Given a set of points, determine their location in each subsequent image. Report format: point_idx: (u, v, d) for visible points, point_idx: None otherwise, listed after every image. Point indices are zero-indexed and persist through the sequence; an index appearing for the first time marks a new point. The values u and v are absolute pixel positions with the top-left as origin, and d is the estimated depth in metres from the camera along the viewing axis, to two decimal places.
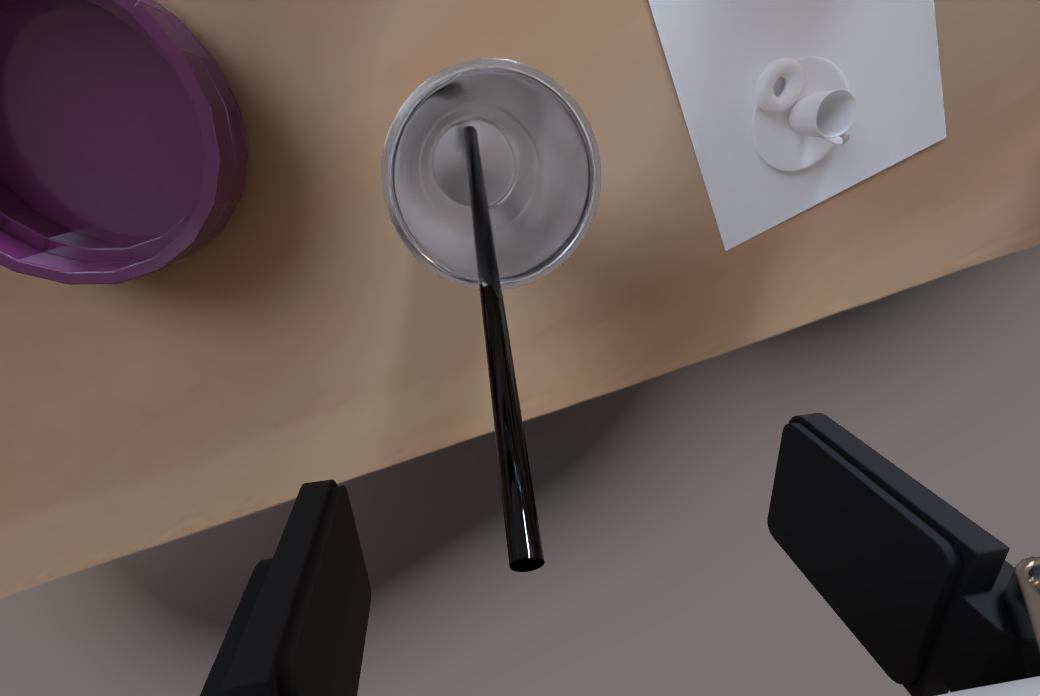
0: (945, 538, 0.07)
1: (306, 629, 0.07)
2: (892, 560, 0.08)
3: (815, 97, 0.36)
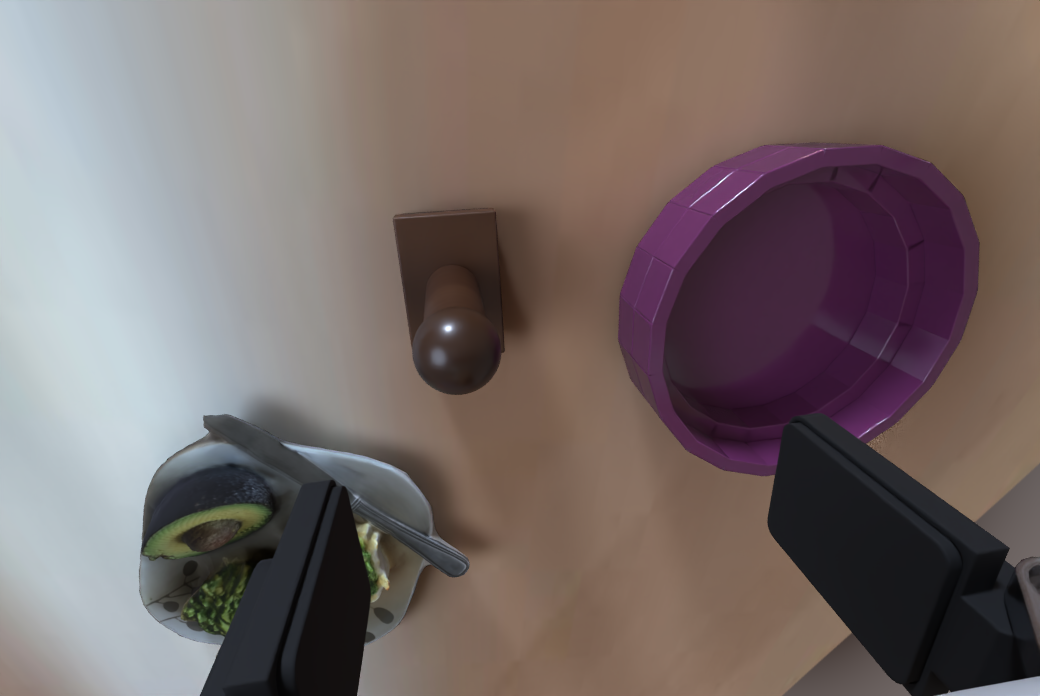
0: (944, 538, 0.07)
1: (306, 629, 0.07)
2: (892, 560, 0.08)
3: None
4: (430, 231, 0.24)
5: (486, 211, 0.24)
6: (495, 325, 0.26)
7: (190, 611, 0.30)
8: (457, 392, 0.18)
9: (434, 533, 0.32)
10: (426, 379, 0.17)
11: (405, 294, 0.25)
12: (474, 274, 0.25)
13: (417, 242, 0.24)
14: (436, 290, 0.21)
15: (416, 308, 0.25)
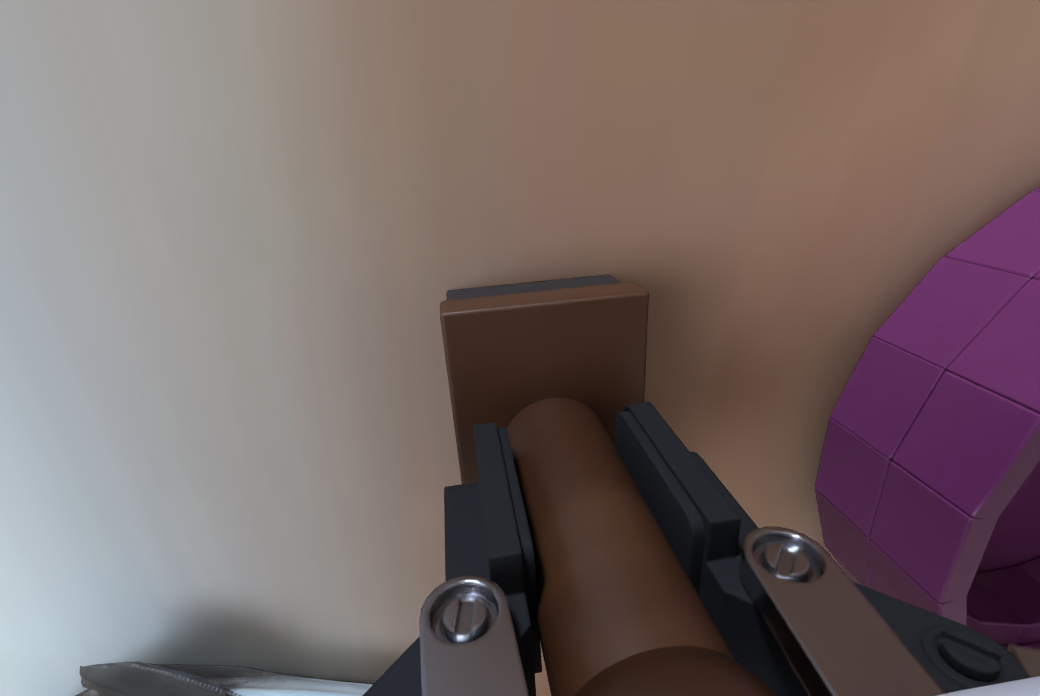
0: (696, 511, 0.08)
1: None
2: (669, 533, 0.09)
3: None
4: (516, 337, 0.11)
5: (630, 293, 0.12)
6: None
7: None
8: None
9: None
10: None
11: (461, 454, 0.12)
12: (597, 412, 0.13)
13: (489, 359, 0.12)
14: (556, 503, 0.09)
15: None
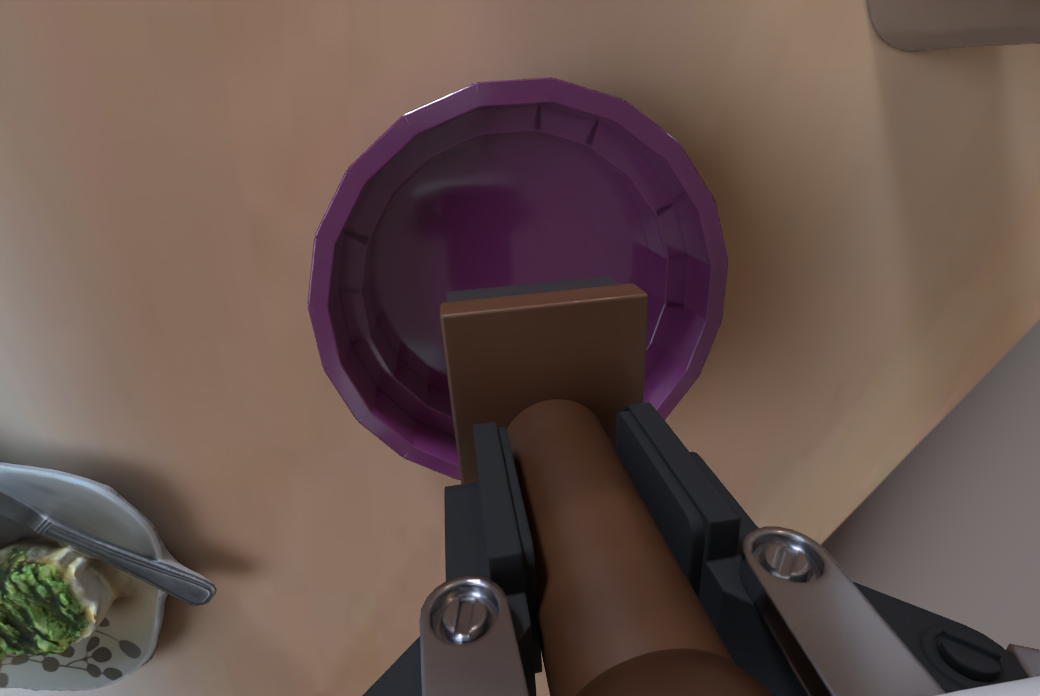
0: (695, 510, 0.08)
1: None
2: (669, 533, 0.09)
3: None
4: (516, 338, 0.11)
5: (630, 295, 0.12)
6: None
7: None
8: None
9: (165, 556, 0.28)
10: None
11: (461, 455, 0.12)
12: (596, 413, 0.13)
13: (488, 360, 0.12)
14: (555, 505, 0.09)
15: None
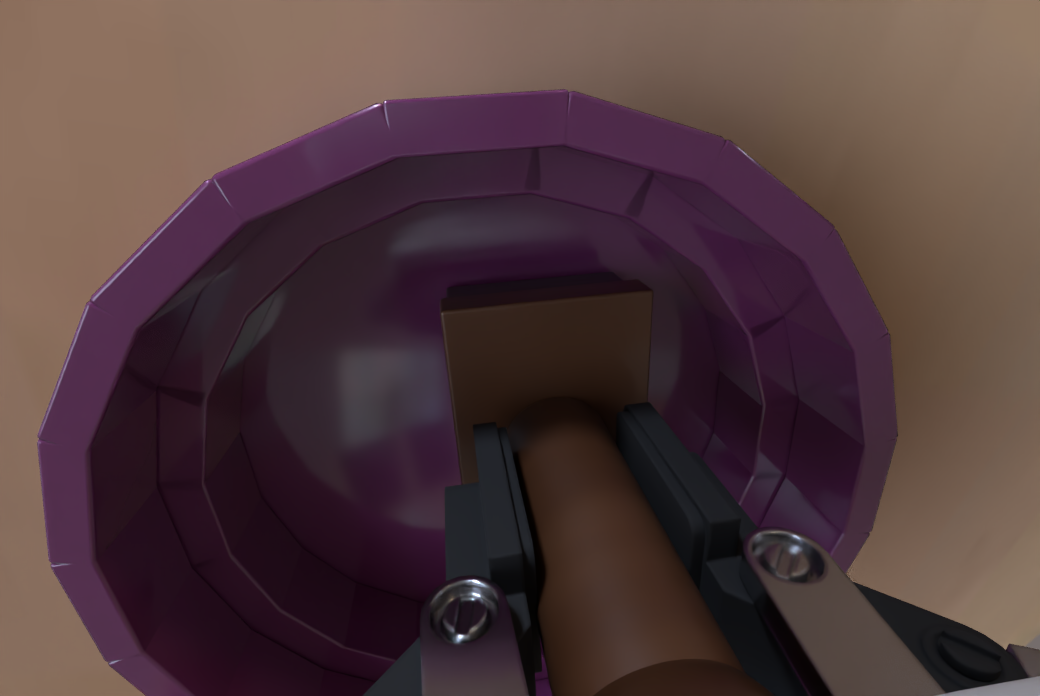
0: (695, 510, 0.08)
1: None
2: (669, 533, 0.09)
3: None
4: (518, 335, 0.11)
5: (635, 291, 0.11)
6: None
7: None
8: None
9: None
10: None
11: (461, 454, 0.12)
12: (599, 412, 0.12)
13: (490, 357, 0.11)
14: (559, 507, 0.09)
15: None
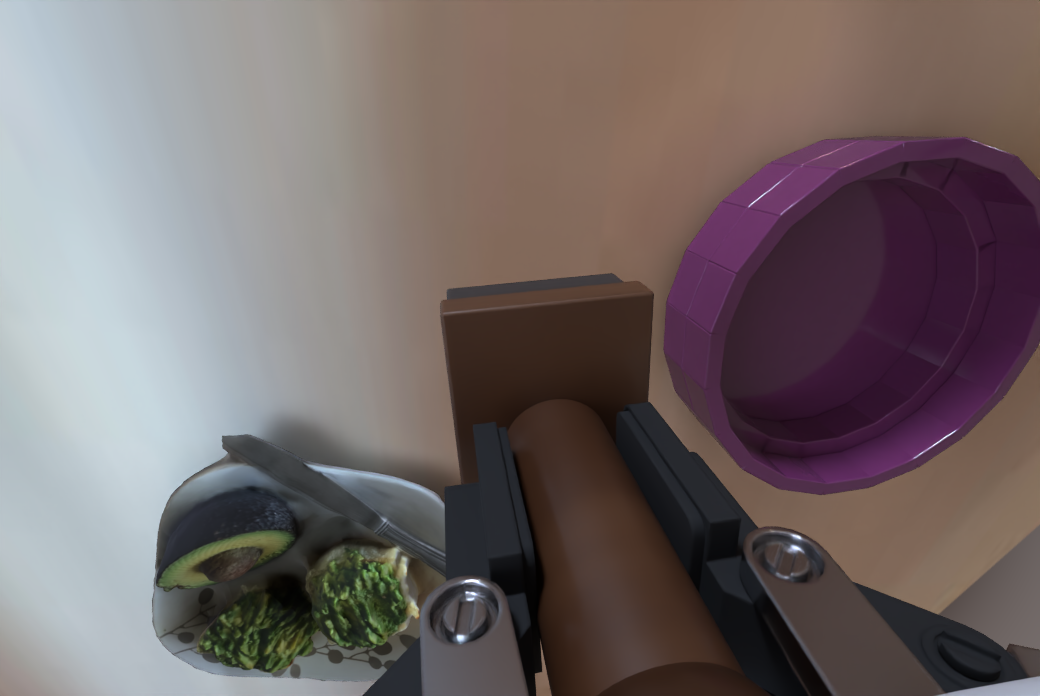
0: (696, 511, 0.08)
1: None
2: (669, 533, 0.09)
3: None
4: (518, 337, 0.11)
5: (635, 293, 0.11)
6: None
7: (207, 643, 0.28)
8: None
9: None
10: None
11: (461, 456, 0.12)
12: (600, 413, 0.12)
13: (490, 359, 0.11)
14: (559, 509, 0.09)
15: None
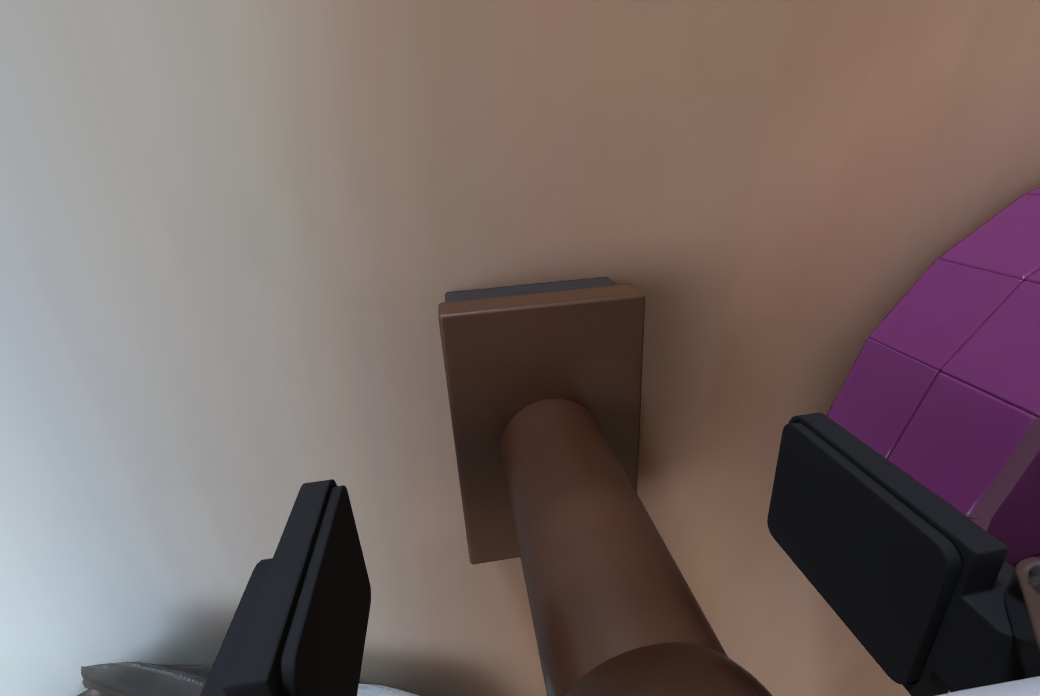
0: (945, 538, 0.07)
1: (306, 629, 0.07)
2: (892, 560, 0.08)
3: None
4: (514, 338, 0.12)
5: (627, 295, 0.12)
6: None
7: None
8: None
9: None
10: None
11: (459, 455, 0.13)
12: (594, 413, 0.13)
13: (487, 360, 0.12)
14: (552, 503, 0.09)
15: (479, 476, 0.13)
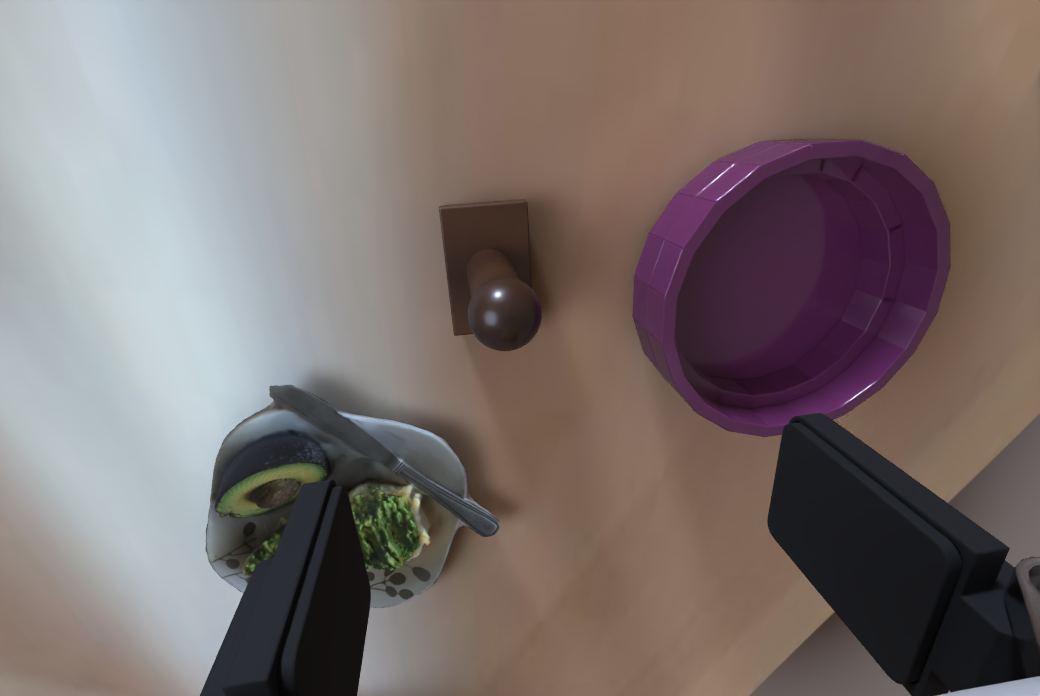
0: (945, 539, 0.07)
1: (306, 629, 0.07)
2: (892, 560, 0.08)
3: None
4: (471, 219, 0.27)
5: (519, 202, 0.28)
6: None
7: (252, 566, 0.34)
8: (506, 347, 0.21)
9: (468, 496, 0.36)
10: (481, 336, 0.21)
11: (448, 275, 0.28)
12: (508, 257, 0.28)
13: (459, 229, 0.28)
14: (480, 268, 0.25)
15: (457, 287, 0.29)
